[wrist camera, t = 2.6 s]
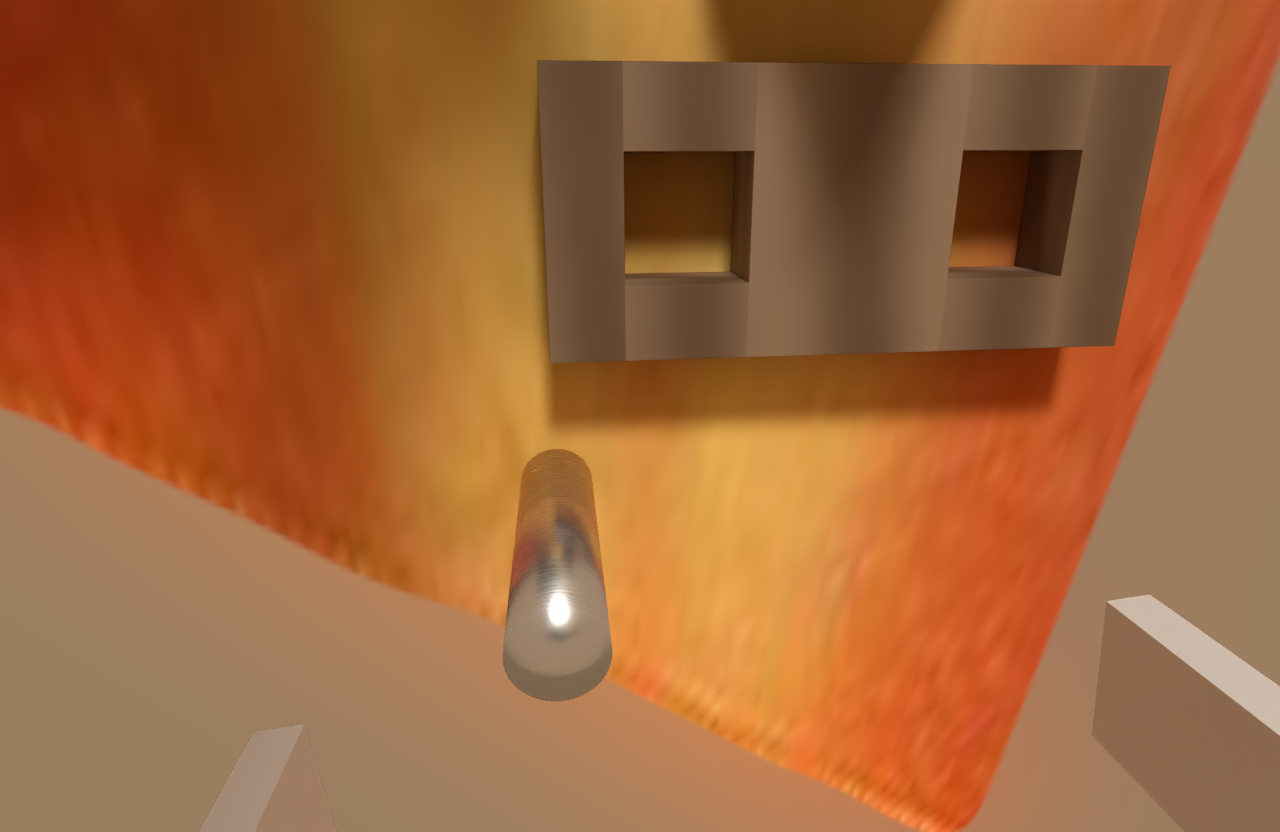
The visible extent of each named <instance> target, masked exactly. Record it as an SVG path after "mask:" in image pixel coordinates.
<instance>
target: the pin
mask: <svg viewBox="0 0 1280 832" xmlns="http://www.w3.org/2000/svg"><path fill="white" fill-rule="evenodd" d="M611 660H612V645H611V636H610V628H609V619H608V611H607V602H606V594H605V585H604V577H603V569H602V560H601V552H600V543H599V535H598V526H597V518H596V509H595V501H594V492H593V484H592V476H591V472H590V469H589V467H588V466H587V464H586V463H585V461H584V460H583V459H582V458H581V457H579V456H578V455H576V454H574V453H572V452H570V451H567V450H561V449H553V450H547V451H544V452H542V453H540V454H538V455H536V456H535V457H533V458H532V459H531V460H530V461H529V462H528V464H527V465H526V467H525V469H524V471H523V474H522V478H521V487H520V497H519V506H518V515H517V525H516V534H515V543H514V553H513V562H512V572H511V581H510V590H509V600H508V609H507V618H506V628H505V637H504V646H503V665H504V669H505V672H506V674H507V676H508V677H509V679H510V680H511V682H512V683H513V684H514V685H515V686H516V687H517V688H518V689H520V690H521V691H522V692H524V693H526V694H527V695H530V696H532V697H534V698H537V699H541V700H546V701H563V700H569V699H573V698H576V697H579V696H581V695H583V694H585V693H587V692H589V691H590V690H592V689H593V688H594V687H596V686H597V685H598V684H599V683H600V682H601V681H602V679H603V678H604V677H605V675H606V673H607V672H608V670H609V667H610V664H611Z"/></svg>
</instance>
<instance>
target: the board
mask: <svg viewBox="0 0 1280 832" xmlns="http://www.w3.org/2000/svg"><path fill="white" fill-rule="evenodd" d="M1170 67H1171V66H1097V65H988V64H879V63H770V62H660V61H551V60H537V69H538V92H539V114H540V137H541V160H542V183H543V205H544V228H545V251H546V274H547V297H548V319H549V342H550V363H571V362H603V361H635V360H668V359H700V358H732V357H764V356H796V355H828V354H860V353H892V352H925V351H957V350H989V349H1021V348H1053V347H1085V346H1114V345H1115V340H1116V335H1117V330H1118V325H1119V320H1120V315H1121V310H1122V305H1123V301H1124V296H1125V291H1126V286H1127V281H1128V276H1129V271H1130V266H1131V261H1132V256H1133V251H1134V246H1135V241H1136V236H1137V231H1138V226H1139V221H1140V216H1141V211H1142V206H1143V201H1144V196H1145V191H1146V186H1147V181H1148V176H1149V171H1150V166H1151V161H1152V156H1153V151H1154V146H1155V142H1156V137H1157V132H1158V127H1159V122H1160V117H1161V112H1162V107H1163V102H1164V97H1165V92H1166V87H1167V82H1168V77H1169V72H1170ZM963 151H1032V157H1031V164H1030V170H1029V177H1028V183H1027V190H1026V196H1025V203H1024V209H1023V216H1022V223H1021V229H1020V236H1019V242H1018V249H1017V255H1016V262H1015V266H1004V267H953V268H949V260H950V252H951V244H952V236H953V228H954V220H955V212H956V204H957V196H958V188H959V180H960V172H961V164H962V156H963ZM639 152H735V162H734V192H733V222H732V251H731V272H695V273H644V274H625V234H624V153H639Z"/></svg>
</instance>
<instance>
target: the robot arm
mask: <svg viewBox="0 0 1280 832" xmlns="http://www.w3.org/2000/svg"><path fill="white" fill-rule="evenodd" d="M1092 736H1093V737H1094V738H1095V739H1096V740H1097V741H1098V742H1099V743H1100V744H1101V745H1102V746H1103V747H1104V748H1105V750H1106V751H1107V752H1108V753H1109V754H1110V755H1111V756H1112V757H1113V758H1114V759H1115V760H1116V761H1117V762H1118V763H1119V764H1120V765H1121V766H1122V767H1123V768H1124V769H1125V770H1126V772H1127V773H1129V775H1130V776H1131V777H1132V778H1133V779H1134V780H1135V781H1136V782H1137V783H1138V784H1139V785H1140V786H1141V787H1142V788H1143V789H1144V790H1145V791H1146V792H1147V793H1148V795H1150V797H1151V798H1152V799H1153V800H1154V801H1156V803H1157V804H1158V805H1159V806H1160V807H1161V808H1162V809H1163V810H1164V811H1165V812H1166V813H1167V814H1168V816H1170V818H1171V819H1172V820H1173V821H1174V822H1175V823H1176V824H1177V825H1178V826H1179V827H1180V828H1181V829H1182V830H1183V831H1184V832H1280V687H1279V686H1278V685H1276V684H1275V683H1274V682H1272V681H1271V680H1270V679H1268V678H1267V677H1265V676H1264V675H1262V674H1261V673H1260V672H1258V671H1257V670H1255V669H1254V668H1253V667H1251V666H1250V665H1248V664H1247V663H1246V662H1244V661H1243V660H1241V659H1240V658H1238V657H1237V656H1236V655H1234V654H1233V653H1231V652H1230V651H1229V650H1227V649H1226V648H1224V647H1223V646H1222V645H1220V644H1219V643H1217V642H1216V641H1214V640H1213V639H1212V638H1210V637H1209V636H1207V635H1206V634H1204V633H1203V632H1202V631H1200V630H1199V629H1197V628H1196V627H1195V626H1193V625H1192V624H1190V623H1189V622H1188V621H1186V620H1185V619H1183V618H1182V617H1181V616H1179V615H1177V614H1176V613H1175V612H1173V611H1172V610H1171V609H1169V608H1168V607H1166V606H1165V605H1164V604H1162V603H1161V602H1159V601H1158V600H1156V599H1155V598H1154V597H1152V596H1151V595H1145V596H1137V597H1131V598H1125V599H1118V600H1111V601H1106V609H1105V619H1104V628H1103V637H1102V645H1101V655H1100V664H1099V673H1098V682H1097V691H1096V700H1095V709H1094V718H1093V727H1092ZM199 832H336V829H335V825H334V822H333V818H332V815H331V812H330V808H329V805H328V802H327V798H326V795H325V791H324V789H323V785H322V781H321V778H320V775H319V771H318V768H317V764H316V761H315V758H314V754H313V751H312V748H311V744H310V741H309V737H308V734H307V731H306V727H305V724H299V725H293V726H287V727H280V728H273V729H267V730H261V731H254V732H253V734H252V736H251V738H250V740H249V741H248V743H247V745H246V747H245V749H244V750H243V752H242V754H241V756H240V758H239V760H238V761H237V764H236V765H235V767H234V769H233V771H232V772H231V774H230V776H229V778H228V780H227V782H226V783H225V786H224V787H223V789H222V791H221V793H220V795H219V796H218V798H217V800H216V802H215V804H214V805H213V807H212V809H211V811H210V813H209V815H208V816H207V818H206V820H205V822H204V824H203V826H202V828H201V830H200V831H199Z"/></svg>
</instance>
